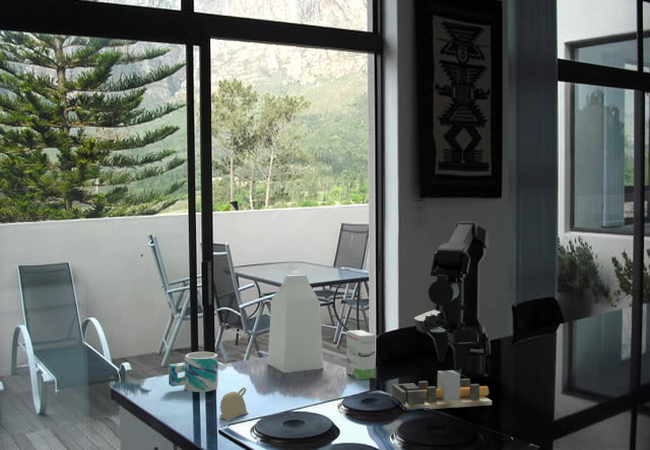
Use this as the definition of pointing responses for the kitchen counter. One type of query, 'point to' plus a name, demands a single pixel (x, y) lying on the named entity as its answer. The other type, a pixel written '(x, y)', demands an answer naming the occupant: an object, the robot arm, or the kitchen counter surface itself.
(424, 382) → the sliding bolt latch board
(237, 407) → the decorative ornament
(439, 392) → the toy hammer
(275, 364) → the milk
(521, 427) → the kitchen counter surface
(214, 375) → the mug
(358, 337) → the ink box
